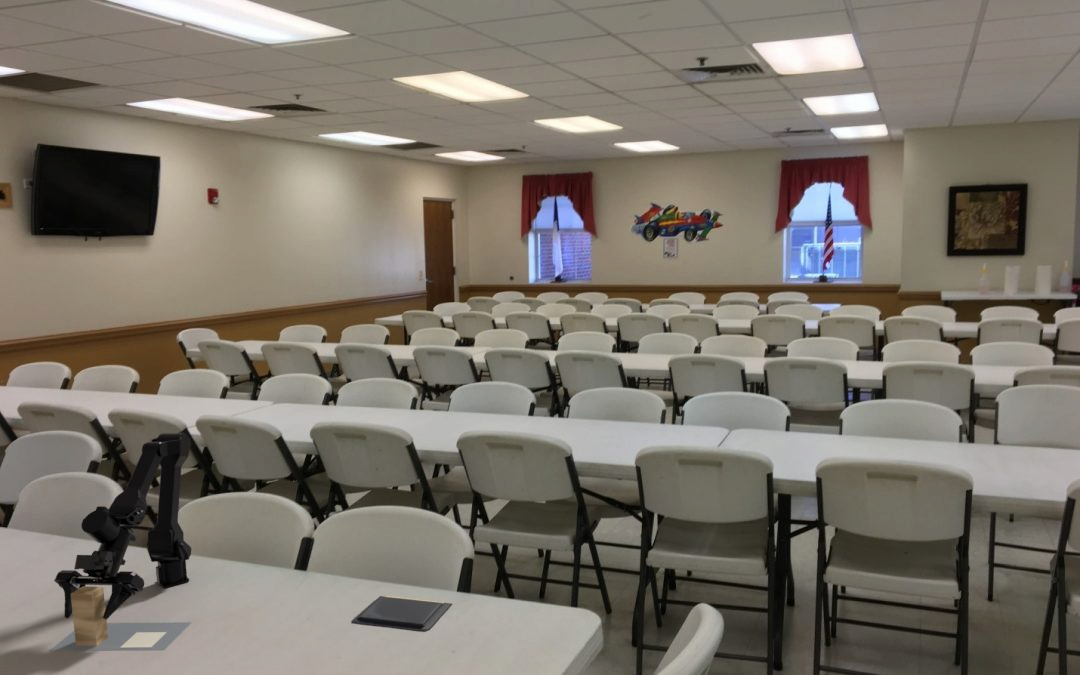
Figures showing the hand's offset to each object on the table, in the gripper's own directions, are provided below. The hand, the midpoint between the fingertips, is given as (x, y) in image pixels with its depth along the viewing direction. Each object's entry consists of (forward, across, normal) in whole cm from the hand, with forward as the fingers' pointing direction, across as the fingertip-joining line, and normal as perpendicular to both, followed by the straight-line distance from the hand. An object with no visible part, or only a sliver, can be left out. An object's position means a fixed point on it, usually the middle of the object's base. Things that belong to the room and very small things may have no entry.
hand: (85, 618), depth 185 cm
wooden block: (+3, 0, +5) cm, 6 cm away
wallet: (-9, +66, +19) cm, 70 cm away
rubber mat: (+2, +6, +8) cm, 10 cm away
